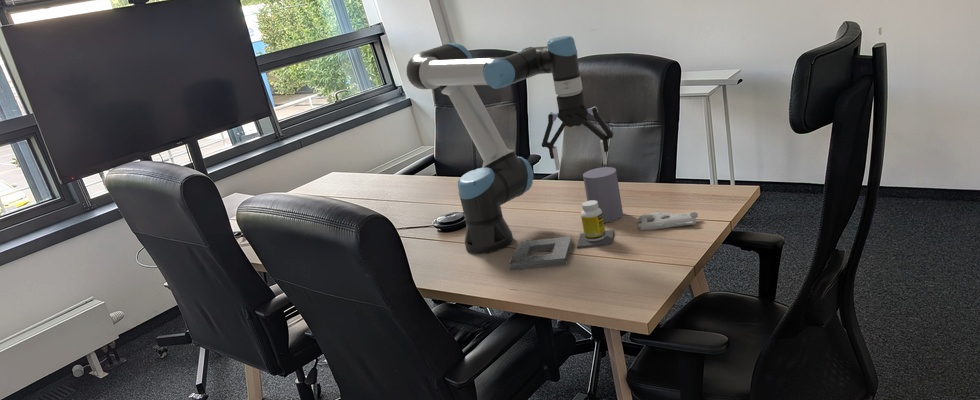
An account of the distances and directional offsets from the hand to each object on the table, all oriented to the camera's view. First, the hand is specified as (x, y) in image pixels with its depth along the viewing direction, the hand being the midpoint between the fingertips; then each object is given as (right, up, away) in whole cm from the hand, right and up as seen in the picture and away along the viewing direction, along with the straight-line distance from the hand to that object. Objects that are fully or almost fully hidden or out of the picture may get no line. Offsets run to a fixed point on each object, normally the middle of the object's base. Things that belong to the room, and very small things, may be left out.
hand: (581, 165), depth 214 cm
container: (+11, -15, +22) cm, 29 cm away
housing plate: (-11, -26, +3) cm, 28 cm away
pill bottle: (+5, -21, +6) cm, 22 cm away
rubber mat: (+5, -22, +6) cm, 23 cm away
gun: (+26, -17, +7) cm, 32 cm away
